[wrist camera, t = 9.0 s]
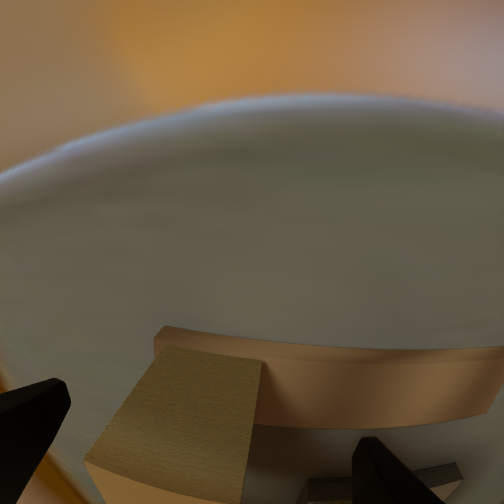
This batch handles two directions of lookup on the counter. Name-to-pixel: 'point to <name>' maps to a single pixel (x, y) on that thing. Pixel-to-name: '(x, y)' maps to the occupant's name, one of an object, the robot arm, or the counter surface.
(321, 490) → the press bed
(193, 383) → the handle
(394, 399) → the rail
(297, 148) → the counter surface
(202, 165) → the counter surface
